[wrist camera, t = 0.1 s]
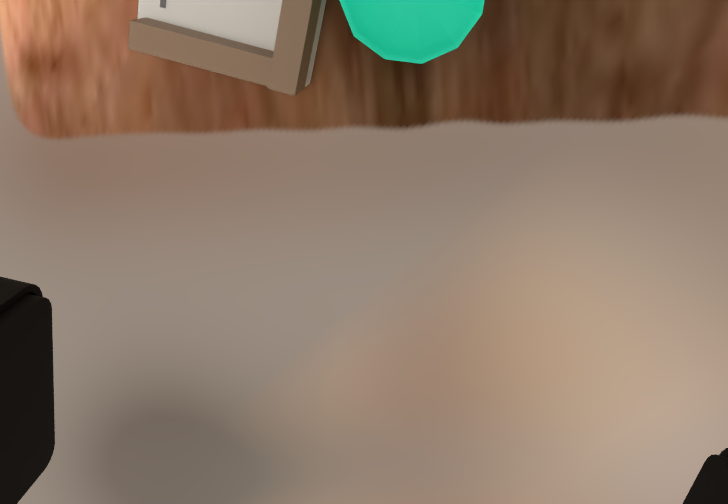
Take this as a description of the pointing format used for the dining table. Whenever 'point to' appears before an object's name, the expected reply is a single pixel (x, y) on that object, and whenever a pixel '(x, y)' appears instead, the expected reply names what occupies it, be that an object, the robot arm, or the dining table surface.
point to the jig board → (234, 37)
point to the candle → (412, 26)
